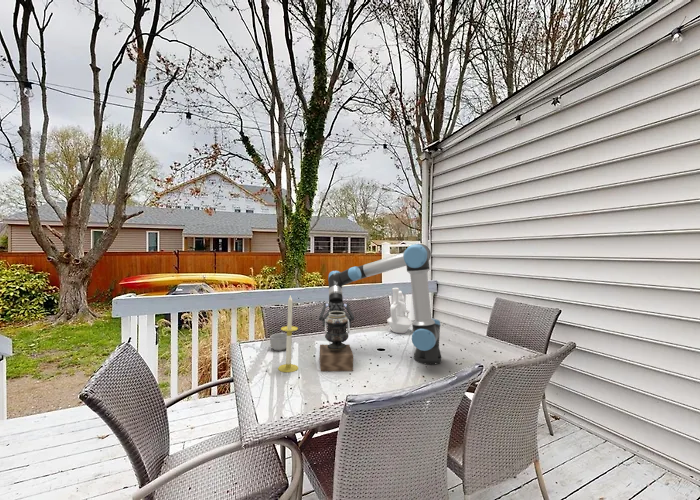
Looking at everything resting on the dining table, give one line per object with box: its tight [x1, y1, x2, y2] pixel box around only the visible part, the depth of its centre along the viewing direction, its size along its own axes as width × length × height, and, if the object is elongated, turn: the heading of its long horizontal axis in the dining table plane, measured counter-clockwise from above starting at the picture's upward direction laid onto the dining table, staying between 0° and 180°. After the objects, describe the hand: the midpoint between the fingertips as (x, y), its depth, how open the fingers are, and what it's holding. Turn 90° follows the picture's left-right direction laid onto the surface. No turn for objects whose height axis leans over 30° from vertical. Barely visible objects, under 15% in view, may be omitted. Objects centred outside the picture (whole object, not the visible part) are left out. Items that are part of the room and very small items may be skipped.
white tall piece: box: [386, 287, 413, 334], centre depth 243 cm, size 18×22×32 cm
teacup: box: [269, 331, 287, 352], centre depth 202 cm, size 14×11×8 cm
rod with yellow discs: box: [277, 294, 299, 373], centre depth 172 cm, size 10×10×38 cm
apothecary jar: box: [324, 311, 349, 350], centre depth 179 cm, size 12×12×18 cm
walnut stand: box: [318, 344, 354, 372], centre depth 180 cm, size 16×16×8 cm
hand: (337, 332), depth 176 cm, fingers closed on apothecary jar, 11 cm apart
